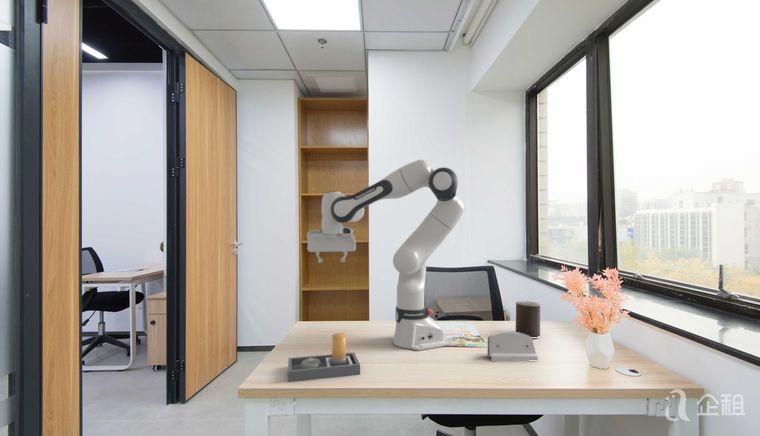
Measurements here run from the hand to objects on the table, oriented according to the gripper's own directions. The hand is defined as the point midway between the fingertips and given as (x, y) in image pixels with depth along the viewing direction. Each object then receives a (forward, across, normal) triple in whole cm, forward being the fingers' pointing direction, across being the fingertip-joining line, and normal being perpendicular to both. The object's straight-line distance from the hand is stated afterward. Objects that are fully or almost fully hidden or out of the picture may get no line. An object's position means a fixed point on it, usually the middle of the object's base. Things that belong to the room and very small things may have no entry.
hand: (331, 262), depth 146 cm
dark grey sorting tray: (+31, -6, -33) cm, 46 cm away
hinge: (+32, +60, -38) cm, 78 cm away
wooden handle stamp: (+30, -1, -33) cm, 45 cm away
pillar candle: (+31, +82, -18) cm, 90 cm away
